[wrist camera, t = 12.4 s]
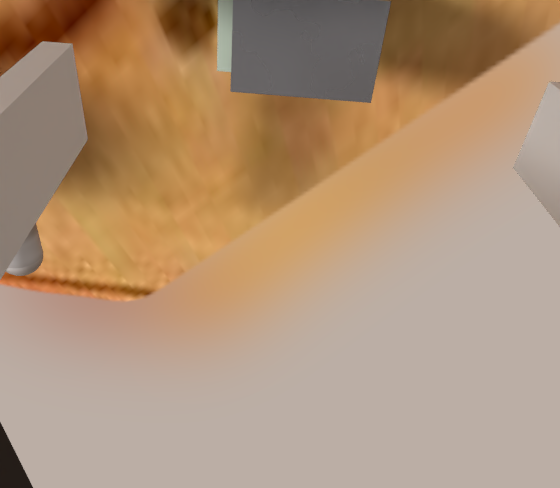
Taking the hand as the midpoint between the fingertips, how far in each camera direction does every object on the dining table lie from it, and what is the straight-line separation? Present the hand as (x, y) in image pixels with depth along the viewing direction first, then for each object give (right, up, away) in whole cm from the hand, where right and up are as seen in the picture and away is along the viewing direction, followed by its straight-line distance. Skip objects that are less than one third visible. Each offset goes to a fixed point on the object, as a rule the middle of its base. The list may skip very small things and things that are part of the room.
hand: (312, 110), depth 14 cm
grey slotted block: (0, +10, +14) cm, 17 cm away
